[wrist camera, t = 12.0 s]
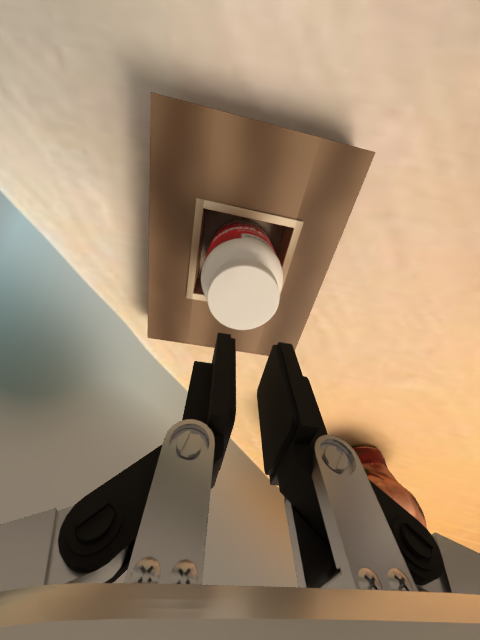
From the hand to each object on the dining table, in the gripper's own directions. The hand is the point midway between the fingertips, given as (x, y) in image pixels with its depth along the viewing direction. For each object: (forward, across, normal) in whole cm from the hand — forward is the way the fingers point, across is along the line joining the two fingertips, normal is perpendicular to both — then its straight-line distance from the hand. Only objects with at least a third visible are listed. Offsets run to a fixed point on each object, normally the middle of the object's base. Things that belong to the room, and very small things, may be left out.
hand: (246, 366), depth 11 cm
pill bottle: (+17, 0, 0) cm, 17 cm away
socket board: (+17, 0, 0) cm, 17 cm away
